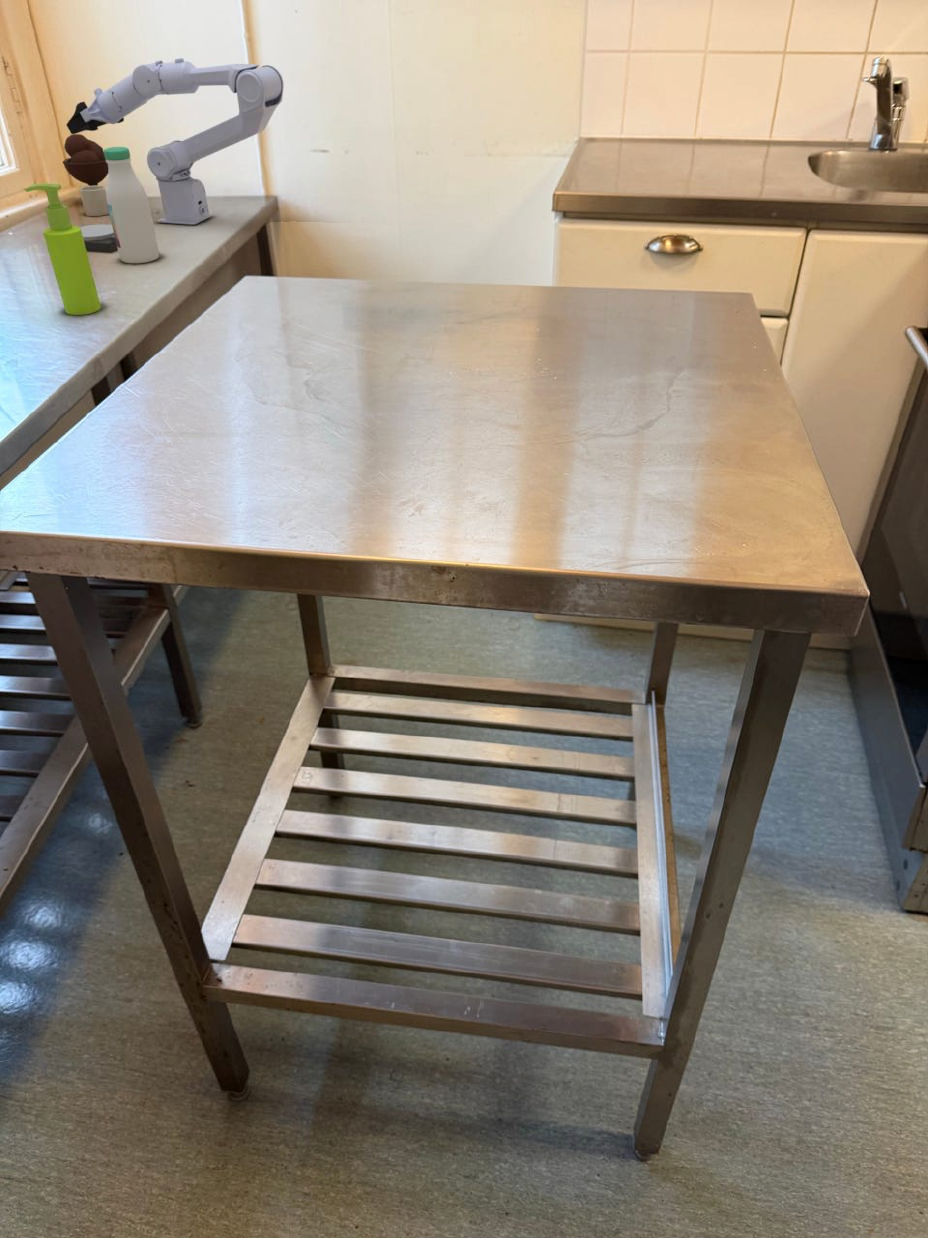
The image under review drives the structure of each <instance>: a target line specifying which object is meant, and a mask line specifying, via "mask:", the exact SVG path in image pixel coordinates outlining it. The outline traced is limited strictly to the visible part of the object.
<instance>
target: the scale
mask: <svg viewBox="0 0 928 1238" xmlns="http://www.w3.org/2000/svg"><path fill="white" fill-rule="evenodd" d="M79 227H80V228H81V232H82V235H83V239H84V243H85V247H86V251H87V252H96V253H98V252H99V253H110V254H111V253H113V252H116V251H118V248H117V244H116V240H115V235H114V231H113V227H112V224H92V225H89V224H88V225H83V226H79Z"/></svg>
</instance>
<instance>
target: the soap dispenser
mask: <svg viewBox="0 0 928 1238" xmlns="http://www.w3.org/2000/svg"><path fill="white" fill-rule="evenodd" d="M61 189H62V185H61V184H60V183H49V182H47V183H36V184H32V185H30V186H28V187H26V188H24V191H25V192H26V193H29V192H32V191H45V194H46V197H47V200H48V205H47V206H46V207H44V211H45V214H46V217H47V221H48V224H49V228H47V229H44V230H43V236H44V241H45V245H46V247H47V248H46V249H47V251H48V254H49V258H50V262H51V265H52V268H53V273H54V276H55V279H56V283H57V286H58V289H59V290H58V291H59V293H60V297H61V301H62V305H63V307H64V311H65V313H66V314H68V315H72V316H83V315H90V314H93V313H97V312H98V311H100V310H101V308H102V305H101V302H100V298H99V293H98V290H97V286H96V281H95V278H94V274H93V271H92V266H91V263H90V259H89V255H88V251H86V247H85V243H84V239H83V235H82V232H81V228H80V227H81V226H76V225H72V221H71V217H70V213H69V210H68V206H67V205H65V204H63V203H61V200H60V196H59V193H58V191H60V190H61Z"/></svg>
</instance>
